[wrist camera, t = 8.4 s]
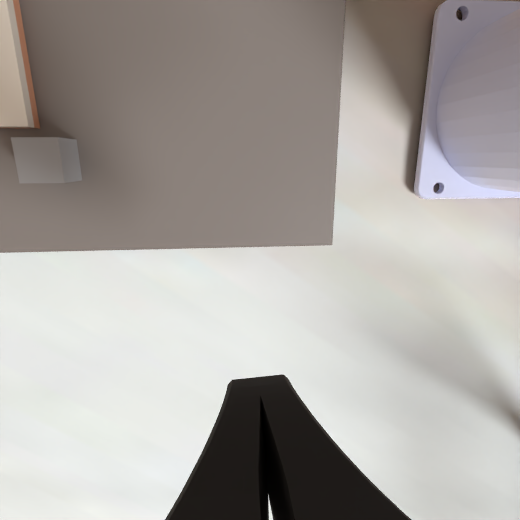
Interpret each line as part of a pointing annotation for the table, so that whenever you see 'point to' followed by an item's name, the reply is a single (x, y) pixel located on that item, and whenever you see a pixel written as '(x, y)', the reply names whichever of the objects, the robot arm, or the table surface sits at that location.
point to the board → (175, 126)
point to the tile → (15, 72)
